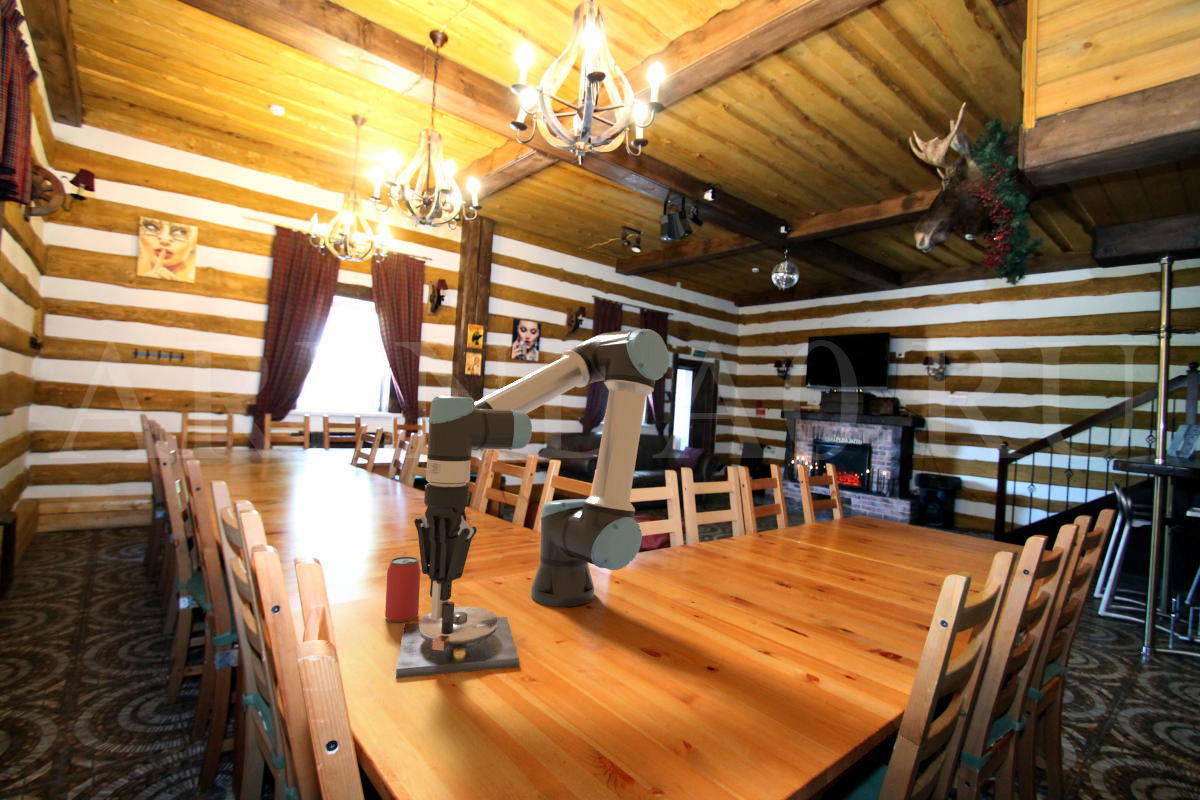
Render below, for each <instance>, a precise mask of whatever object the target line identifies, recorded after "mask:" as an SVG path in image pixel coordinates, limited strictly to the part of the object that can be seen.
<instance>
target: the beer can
mask: <svg viewBox="0 0 1200 800" xmlns="http://www.w3.org/2000/svg"><path fill="white" fill-rule="evenodd" d="M389 561H390V564H389V566H388V568H387V573H386V593H385V611H384V615H385V618H386V620H387V621H389V622H392V623H405V621H406V622H409V620H410V621H413V620H414V619H416V618H417V617H418V616H419V610H420V609H419V608H420V607H419V605H420V587H421V586H420V583H421V567H420V565H421V564H420V563H419V559H418V557H415V556H399V557H395V558H392V559H391V560H389Z"/></svg>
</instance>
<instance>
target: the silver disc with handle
mask: <svg viewBox="0 0 1200 800" xmlns="http://www.w3.org/2000/svg"><path fill="white" fill-rule="evenodd" d="M418 623H419V634H420V636H421V637H422V638H423V639H425V640H427V641H429V642H433V646H432V650H442V651H444V650H445V649H446V648H447V646H448V645H459V644H468V643H473V642H477V641H480V640H483V639H485V638H488V637H489V636H491V635H492V634H493V633H494V632H495V631H496V629H497V614H495V612H493V611H491V610H489V609H487V608H483V607H476V606H455V602H453V601H448V602H444V603H443V606H442V618H440V619H438V620H433V619H431V612H428V613H427V614H425V615H424V616H422V618H420V620H419V622H418Z"/></svg>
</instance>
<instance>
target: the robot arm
mask: <svg viewBox="0 0 1200 800" xmlns="http://www.w3.org/2000/svg"><path fill="white" fill-rule="evenodd" d="M669 358H670V357H669V351H668V348H667V345H666V344H665V341H664V340H663V338H662V337H661V335H660V334H659V333H657V332H656V331H654V330H652V329H649V328H647V329H646V328H642V329H641V328H632V329H629V330H620V331H612V332H611V331H610V332H603V333H601V334H598V335H595V336H593V337H590V338H588V339H586V340H585V341H582V342H581V343H578V344H577V345H575V346H573V347H572V348H569V349H568V350H565V351H564V352H563V353H562V354H561V357H560V359H557V360H555V361H553V362H551V363H549V364H547V365H545V366H544V367H543V366H542V367H541V368H539V369H538V370H535V371H533V372H532V373H530V374H528V375H525V376H524V377H522V378H520V379H518V380H516V381H514V382H512V383H510V384H508V385H506V386H504V387H502V388H500V389H498V390H496V391H494V392H492V393H490V394H488V395H486V396H484V397H482V398H481V399H479V400H477V401H475V400H474V399H473V397H462V396H451V395H450V396H449V395H437V396H434V398H433V399H432V400H431V404H430V409H429V417H428V418H429V419H428V439H427V441H428V442H427V455H426V456H427V458H426V468H425V469H426V471H425V472H426V473H425V480H426V481H427V482H428V483H426V485H424V499H423V500H424V501H423V504H424V505H425V506H426V509H425V512H424V515H423V516H422V517H418V518H415V519H414V525H415V528H416V531H417V537H418V546H419V555H420V565H421V573H422V574H423V575H427V577H428V578H429V580H430V585H429V586H430V588H429V589H430V590H429V597H430V598H431V607H430V613H431V619H433V620H438V619H440V618H442V606H443V603H444V602H449V600H450V599H451V597H452V587H453V586H452V585H453V581H455V580H458V579H460V578H462V577H463V573H464V569H465V567H466V566H465V565H466V562H467V558H468V554H469V550H470V547H471V543H472V540H473V538H474V537H475V535H476V533H477V527H476V526H471V525H470V524H469V523H468V522H467V515H466V507H467V506H468V504H469V495H470V486H469V485H468V484H467V483H470V481H471V463H472V462H471V461H472V453H473V450H508V451H512V450H519V449H524V448H525V447H527V445H528V444H529V443H530V441H531V438H532V434H533V433H532V430H533V425H532V420H531V418H530V416H529V415H528V413H530V412H532V411H535V410H536V409H538V408H539V407H541V406H543V405H545V404H547V403H548V402H551V401H552V400H554V399H555V398H558V397H559V396H561V395H562V394H565V393H566V392H568V391H570V390H572V389H573V388H575V387H576V388H585V386H587V385H589V384H593V383H595V382H601V381H603V383H604V385H605V387H606V388H607V390H608V397H607V402H606V408H605V415H604V420H603V426H602V427H603V428H602V431H601V439H600V445H599V450H598V456H597V462H596V467H595V469H596V470H595V475H594V481H593V487H592V493H591V494H590V496H588V497H587V498H586V499H585V498H584V499H583V498H581V499H580V498H578V499H558V500H550V501H547V502H545V503H544V504H543V506H542V510H541V516H540V522H541V523H540V551H539V552H540V553H539V557H540V558H539V563H538V564H539V565H538V567H537V570H536V573H535V576H534V579H533V581H532V584H531V589H530V591H531V593H530V596H531V597H530V598H531V599H533V601H535V602H537V603H538V604H542V605H545V606H550V607H558V608H560V607H561V608H562V607H563V608H568V607H569V608H570V607H579V606H583V605H585V604H589V603H590V602H592V601H593V600H594V598H595V585H594V581H593V578H592V574H591V571H590V567H589V564H591V565H594V566H595V567H597V568H600V569H606V570H611V571H618V570H621V569H624V568H626V567H627V566H628V565H629V564H630V563H631V562H632V561H633V560H634V559H635V558H636V556H637V555H638V553H639V551H640V549H641V544H642V539H643V536H642V535H643V534H642V530H641V528H640V527H641V526H640V524H639V523H638V522H637V520H635V512H636V509H635V507H634V505H633V504H632V502H631V494H632V493H631V492H632V487H633V482H634V481H633V480H634V475H635V468H636V461H637V455H638V450H639V442H640V437H641V430H642V424H643V418H644V412H645V406H646V399H647V397H648V396H649V395H650V394H651V393H653V392H654V390H655V386H656V385H655V384H656V381H658V380H659V379H661V378H663V377H664V375H666V373H667V371H668V368H669V363H670V362H669V361H670V359H669Z"/></svg>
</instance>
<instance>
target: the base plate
mask: <svg viewBox="0 0 1200 800" xmlns="http://www.w3.org/2000/svg"><path fill="white" fill-rule="evenodd" d="M432 646H433V642H429V641H427V640H425V639H423V638H422V637H421V636H420V634H419V622H409V623H404V626H403V631H402V637H401V642H400V647H399V653H398V658H397V664H396V670H395V679H400V678H401V679H402V678H411V677H412V678H413V677H424V676H431V675H432V676H434V675H444V674H455V673H456V674H457V673H465V672H475V671H488V670H498V669H507V668H508V669H510V668H519V662H520V661H519V659H520V657H519V654H518V651H517V648H516V643H515V640H514V636H513V634H512V630H511V627H510V623H509V620H508V617H507V616H501V617H500V616H498V617H497V629H496V631H495V632H494V633H493V634H492V635H491V636H489V637H488V638H485V639H483V640H480V641H477V642H473V643H468V644H459V645H448V646H447V648H446V649H445V650H444V651H442V650H432Z"/></svg>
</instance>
